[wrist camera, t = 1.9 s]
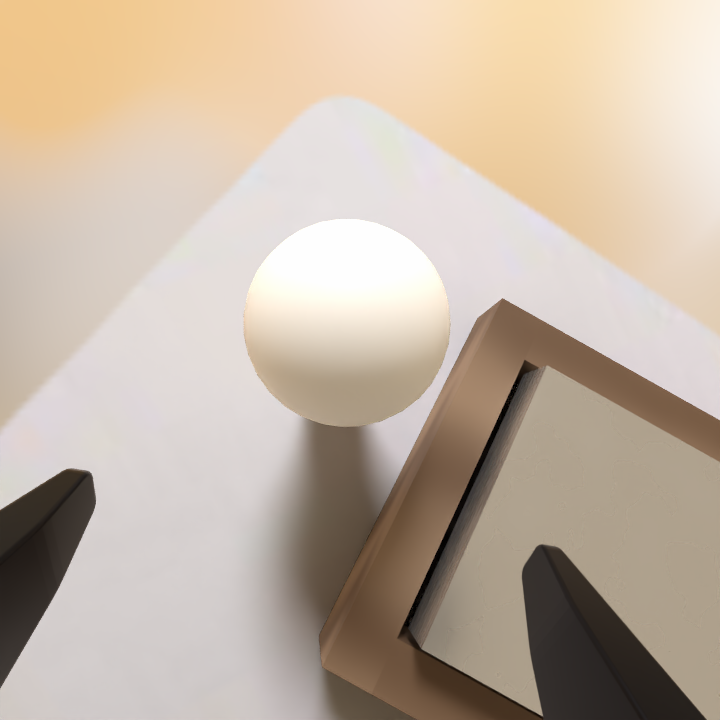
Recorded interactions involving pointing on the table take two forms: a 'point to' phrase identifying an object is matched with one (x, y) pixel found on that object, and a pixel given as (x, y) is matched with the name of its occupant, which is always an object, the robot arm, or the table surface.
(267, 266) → the lightbulb
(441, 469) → the brown picture frame
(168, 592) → the table surface
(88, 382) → the table surface
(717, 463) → the platform
